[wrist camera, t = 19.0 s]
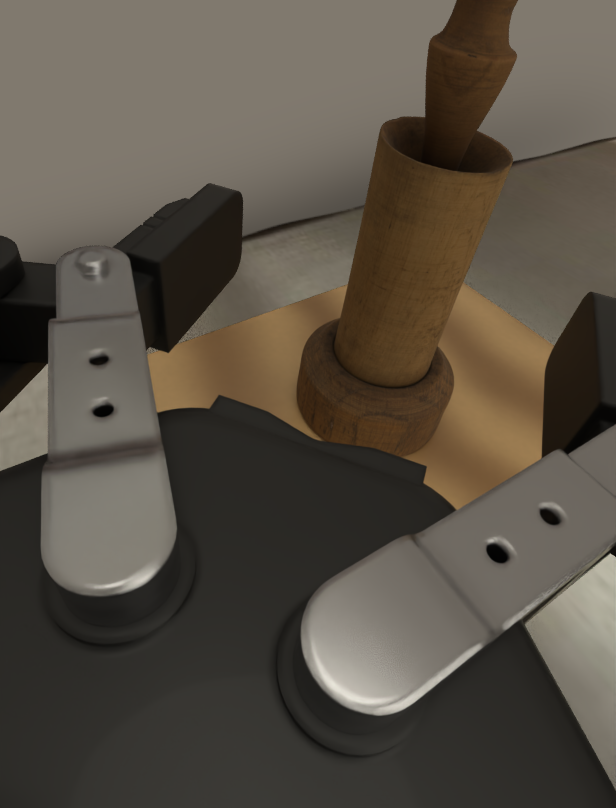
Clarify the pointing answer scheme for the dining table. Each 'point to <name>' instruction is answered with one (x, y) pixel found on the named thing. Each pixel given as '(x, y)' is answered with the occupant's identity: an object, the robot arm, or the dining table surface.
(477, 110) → the mortar and pestle
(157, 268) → the robot arm
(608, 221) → the dining table surface
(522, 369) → the cutting board
